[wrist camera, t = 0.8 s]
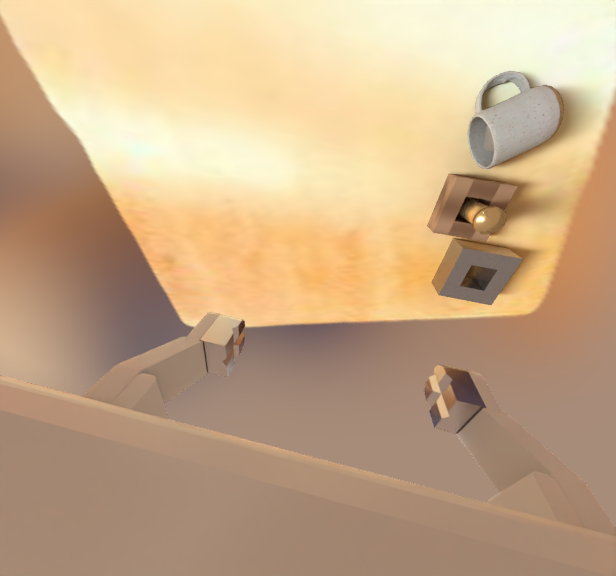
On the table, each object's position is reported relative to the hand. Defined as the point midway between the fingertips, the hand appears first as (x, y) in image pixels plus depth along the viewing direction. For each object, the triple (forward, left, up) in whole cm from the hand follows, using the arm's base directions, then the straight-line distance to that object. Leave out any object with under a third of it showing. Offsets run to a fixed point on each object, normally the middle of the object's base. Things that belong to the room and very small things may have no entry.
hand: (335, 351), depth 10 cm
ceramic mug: (-13, +19, -40) cm, 47 cm away
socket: (+10, +26, -40) cm, 49 cm away
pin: (-1, +20, -40) cm, 45 cm away
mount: (-1, +20, -40) cm, 45 cm away
